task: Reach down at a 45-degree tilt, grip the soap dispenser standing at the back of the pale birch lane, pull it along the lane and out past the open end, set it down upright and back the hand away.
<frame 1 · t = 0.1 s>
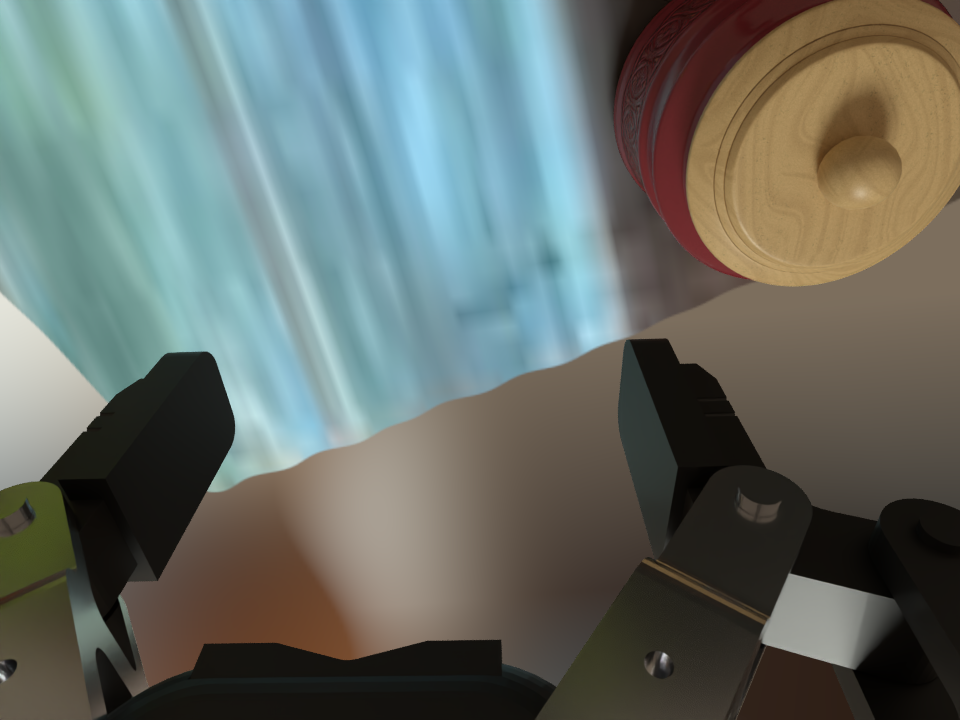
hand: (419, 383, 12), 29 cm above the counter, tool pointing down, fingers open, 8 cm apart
canister: (717, 97, 36), on the counter
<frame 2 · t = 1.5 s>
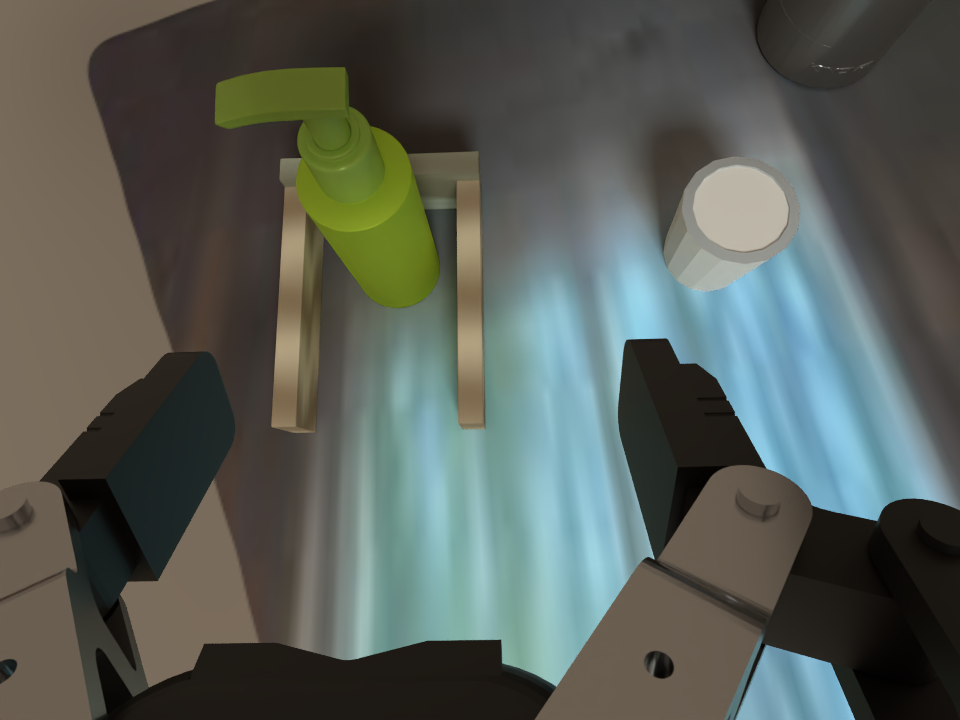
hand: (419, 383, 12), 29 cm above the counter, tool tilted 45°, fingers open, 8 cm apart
shot glass: (702, 254, 43), on the counter
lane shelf: (390, 330, 42), on the counter
soap dispenser: (392, 270, 43), resting in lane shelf
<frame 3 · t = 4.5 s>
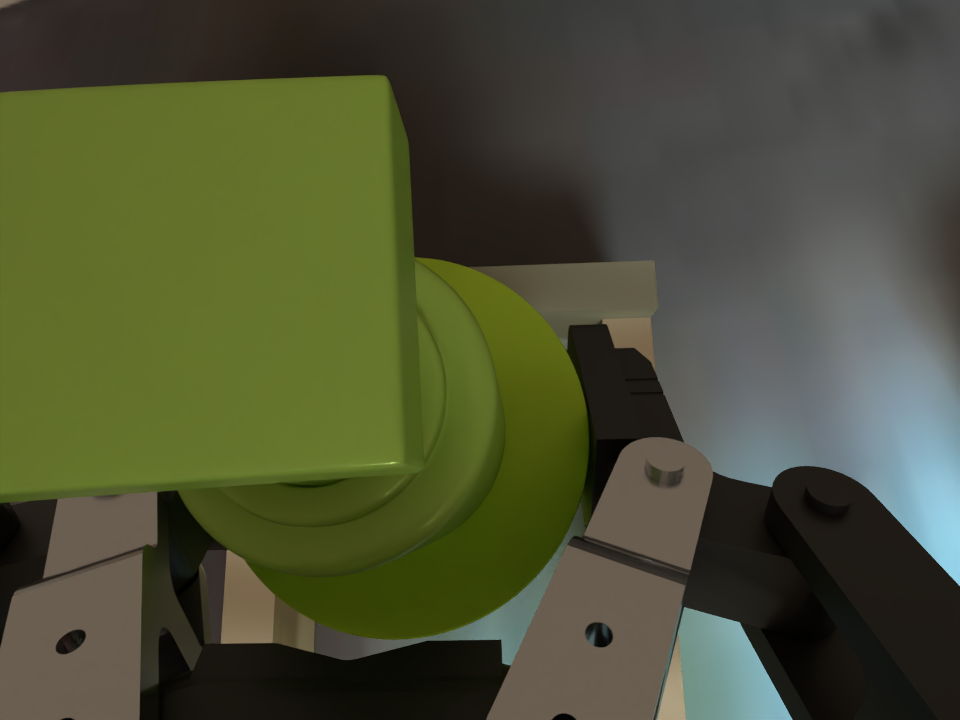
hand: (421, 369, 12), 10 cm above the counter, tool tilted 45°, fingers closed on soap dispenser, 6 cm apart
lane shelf: (457, 604, 21), on the counter
soap dispenser: (455, 473, 22), resting in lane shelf, touching gripper
when the fingers open (11 cm above the counter, at t = 9.9 s): soap dispenser moves 1 cm, on the counter.
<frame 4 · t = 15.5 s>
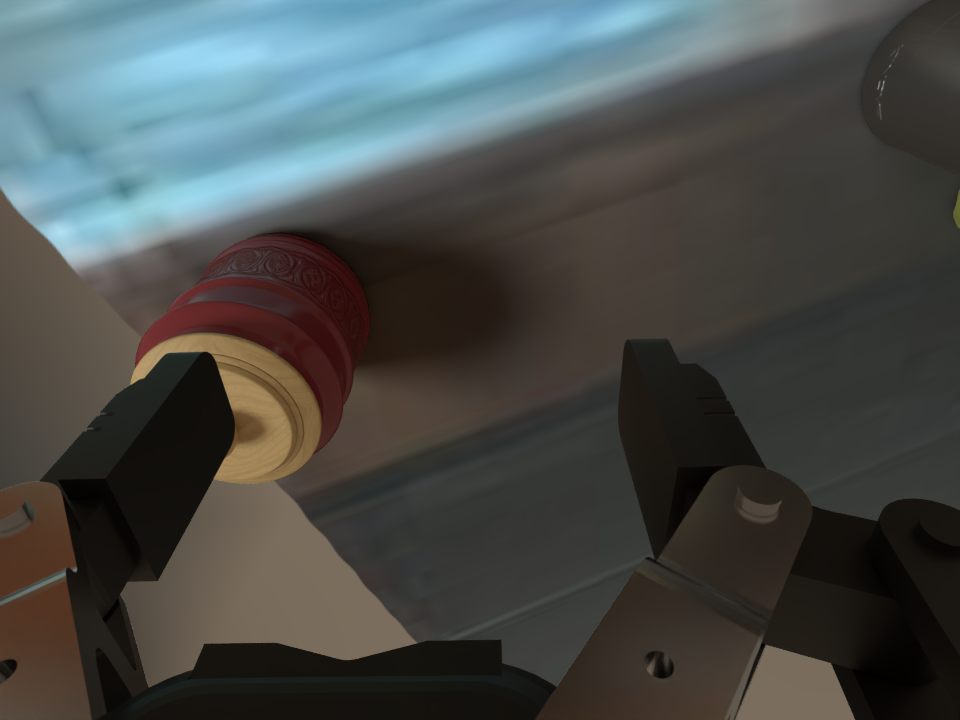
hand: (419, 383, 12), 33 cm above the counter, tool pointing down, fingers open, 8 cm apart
canister: (292, 305, 49), on the counter
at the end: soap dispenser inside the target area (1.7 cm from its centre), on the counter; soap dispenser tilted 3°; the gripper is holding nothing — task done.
